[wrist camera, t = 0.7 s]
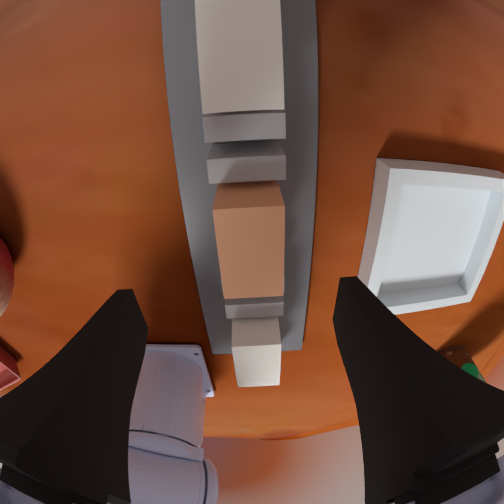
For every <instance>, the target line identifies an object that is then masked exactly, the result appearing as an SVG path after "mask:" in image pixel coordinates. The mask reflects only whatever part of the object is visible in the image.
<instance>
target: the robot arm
mask: <svg viewBox="0 0 504 504" xmlns="http://www.w3.org/2000/svg"><path fill="white" fill-rule="evenodd" d="M333 323H334V329H335V334H336V339H337V344H338V347H339V350H340V354H341V357H342V360H343V363H344V366H345V369H346V373H347V376H348V379H349V382H350V385H351V389H352V392H353V395H354V399H355V403H356V408H357V414H358V420H359V426H360V433H361V441H362V450H363V461H364V476H365V477H364V478H365V504H393V503H395V504H504V455H503V456H502V457H500V458H498V459H496V455H495V453H497V452H498V451H499V447H498V444H497V442H498V441H500V440H501V439H503V438H504V391H503V390H500V389H498V388H496V387H493V386H491V385H489V384H487V383H486V382H484V381H482V380H480V379H478V378H476V377H474V376H473V375H471V374H469V373H468V372H466V371H464V370H463V369H461V368H460V367H458V366H457V365H455V364H454V363H452V362H451V361H449V360H448V359H446V358H445V357H444V356H442V355H441V354H439V353H438V352H437V351H436V350H434V349H433V348H432V347H430V346H429V345H428V344H427V343H425V342H424V341H423V340H422V339H420V338H419V337H418V336H417V335H416V334H415V333H414V332H413V331H411V330H410V329H409V328H408V327H407V326H406V325H405V324H404V323H403V322H402V321H400V320H399V319H398V318H397V317H396V316H395V315H394V314H393V313H392V312H391V311H390V310H389V309H388V308H387V307H386V306H385V305H384V304H383V303H382V302H381V301H380V300H379V299H378V298H377V297H376V296H375V295H374V294H373V293H372V292H371V290H370V289H369V288H368V287H367V286H366V285H365V284H364V283H363V282H362V281H361V280H360V279H359V278H358V277H357V276H354V277H343V278H340V281H339V287H338V293H337V298H336V304H335V310H334V315H333ZM147 334H148V327H147V324H146V322H145V319H144V317H143V315H142V312H141V310H140V307H139V305H138V302H137V300H136V297H135V295H134V292H133V289H125V290H117V291H116V292H115V293H114V294H113V295H112V296H111V297H110V298H109V299H108V300H107V301H106V302H105V303H104V304H103V305H102V307H101V308H100V309H99V310H98V311H97V312H96V313H95V314H94V315H93V316H92V318H91V319H90V320H89V321H88V322H87V323H86V324H85V325H84V326H83V327H82V329H81V330H80V331H79V332H78V333H77V334H76V335H75V336H74V337H73V338H72V339H71V340H70V341H69V342H68V343H67V344H66V345H65V346H64V347H63V348H62V349H61V350H60V351H59V352H58V353H57V354H56V355H55V356H54V357H53V358H52V359H51V360H50V361H49V362H48V363H46V364H45V365H44V366H43V367H42V368H41V369H40V370H38V371H37V372H36V373H34V374H33V375H32V376H31V377H29V378H28V379H27V380H26V381H24V382H23V383H22V384H20V385H19V386H18V387H16V388H15V389H13V390H12V391H10V392H9V393H7V394H6V395H4V396H2V397H1V398H0V462H1V463H2V464H3V465H2V469H1V468H0V504H216V503H217V498H218V475H217V471H216V468H215V467H214V465H213V464H212V462H211V461H210V460H209V459H208V458H203V454H204V449H202V448H200V446H201V444H202V441H203V428H204V412H205V397H213V396H214V390H213V386H212V383H211V380H210V377H209V373H208V370H207V366H206V363H205V360H204V356H203V353H202V349H201V347H200V346H199V345H164V344H146V343H147Z"/></svg>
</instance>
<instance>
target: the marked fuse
mask: <svg viewBox="0 0 504 504" xmlns="http://www.w3.org/2000/svg"><path fill="white" fill-rule="evenodd" d="M213 219H214V227H215V235H216V243H217V250H218V258H219V265H220V273H221V280H222V287H223V294H224V299H236V298H256V297H273V296H283V288H284V246H285V204H284V201H283V197H282V194H281V191H280V187H279V184H278V181H277V180H268V181H247V182H230V183H218V185H217V190H216V195H215V200H214V205H213Z"/></svg>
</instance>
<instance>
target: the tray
mask: <svg viewBox="0 0 504 504" xmlns="http://www.w3.org/2000/svg"><path fill="white" fill-rule="evenodd" d="M503 221H504V174H503V173H502V172H500V171H497V170H490V169H484V168H478V167H471V166H463V165H455V164H447V163H438V162H428V161H417V160H405V159H390V158H376V167H375V176H374V184H373V192H372V199H371V206H370V213H369V219H368V225H367V231H366V237H365V242H364V248H363V253H362V258H361V263H360V268H359V273H358V278H359V279H360V280H361V281H362V282H363V283H364V284H365V285H366V286H367V287H368V288H369V289H370V290H371V292H372V293H373V294H374V295H375V296H376V297H377V298H378V299H379V300H380V301H381V302H382V303H383V304H384V305H385V306H386V307H387V308H388V309H389V310H390V311H391V312H392V313H393V314H394V315H396V314H403V313H409V312H416V311H422V310H428V309H433V308H439V307H445V306H450V305H455V304H460V303H465V302H470V301H471V299H472V297H473V295H474V293H475V291H476V289H477V287H478V285H479V282H480V280H481V278H482V276H483V273H484V271H485V269H486V266H487V264H488V262H489V259H490V257H491V254H492V252H493V249H494V246H495V244H496V241H497V238H498V235H499V233H500V230H501V227H502V224H503Z"/></svg>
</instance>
